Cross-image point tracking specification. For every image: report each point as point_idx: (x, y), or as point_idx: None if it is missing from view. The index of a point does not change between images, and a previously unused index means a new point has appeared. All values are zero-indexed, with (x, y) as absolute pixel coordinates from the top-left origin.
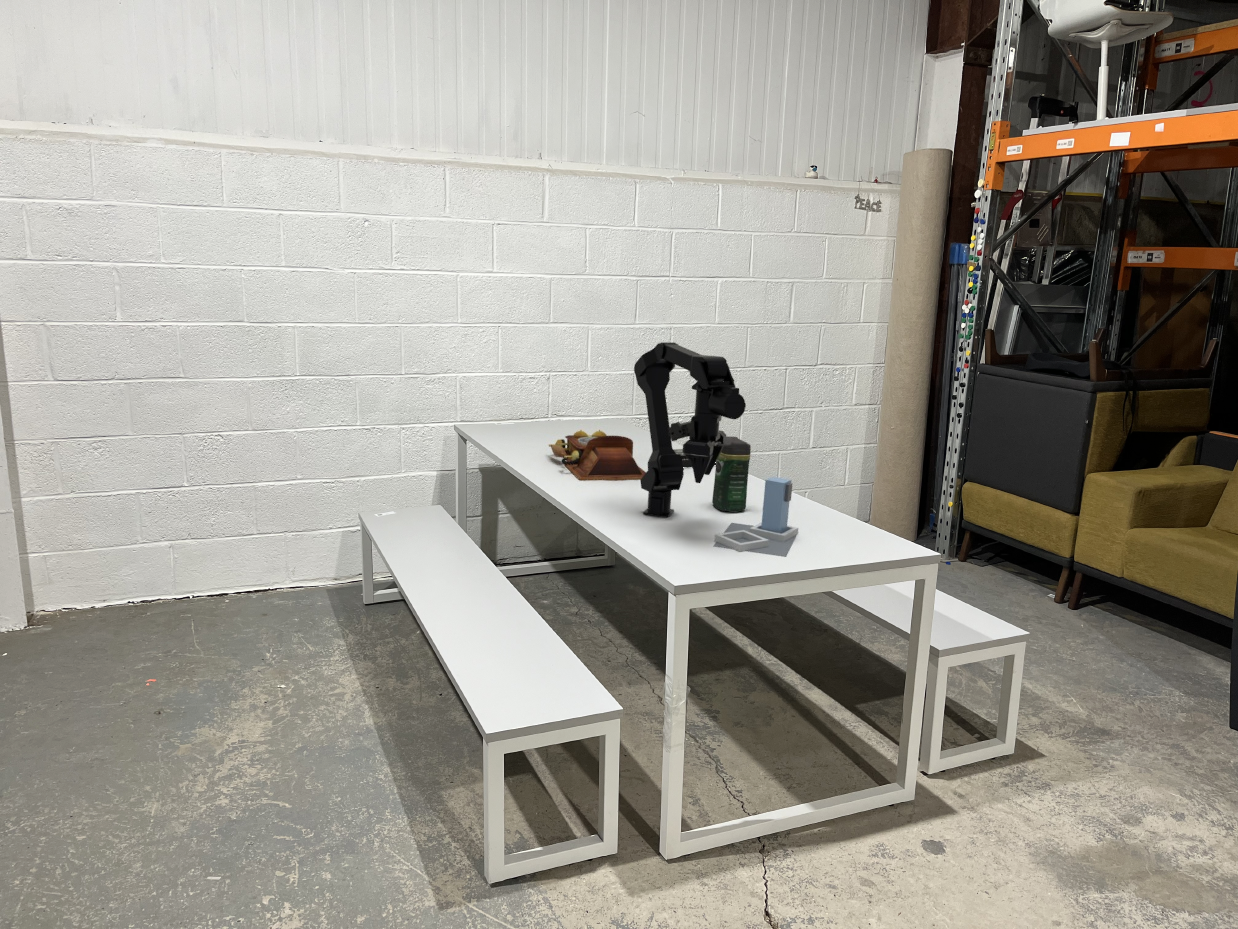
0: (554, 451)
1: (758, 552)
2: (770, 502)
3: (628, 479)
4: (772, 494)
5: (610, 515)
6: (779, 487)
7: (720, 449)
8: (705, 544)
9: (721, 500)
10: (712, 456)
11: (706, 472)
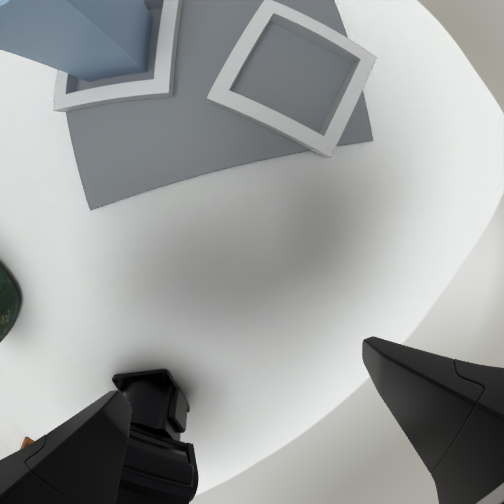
0: None
1: (337, 18)
2: (107, 1)
3: None
4: None
5: (245, 433)
6: None
7: (5, 499)
8: (326, 180)
9: (7, 311)
10: (70, 481)
11: (124, 410)
